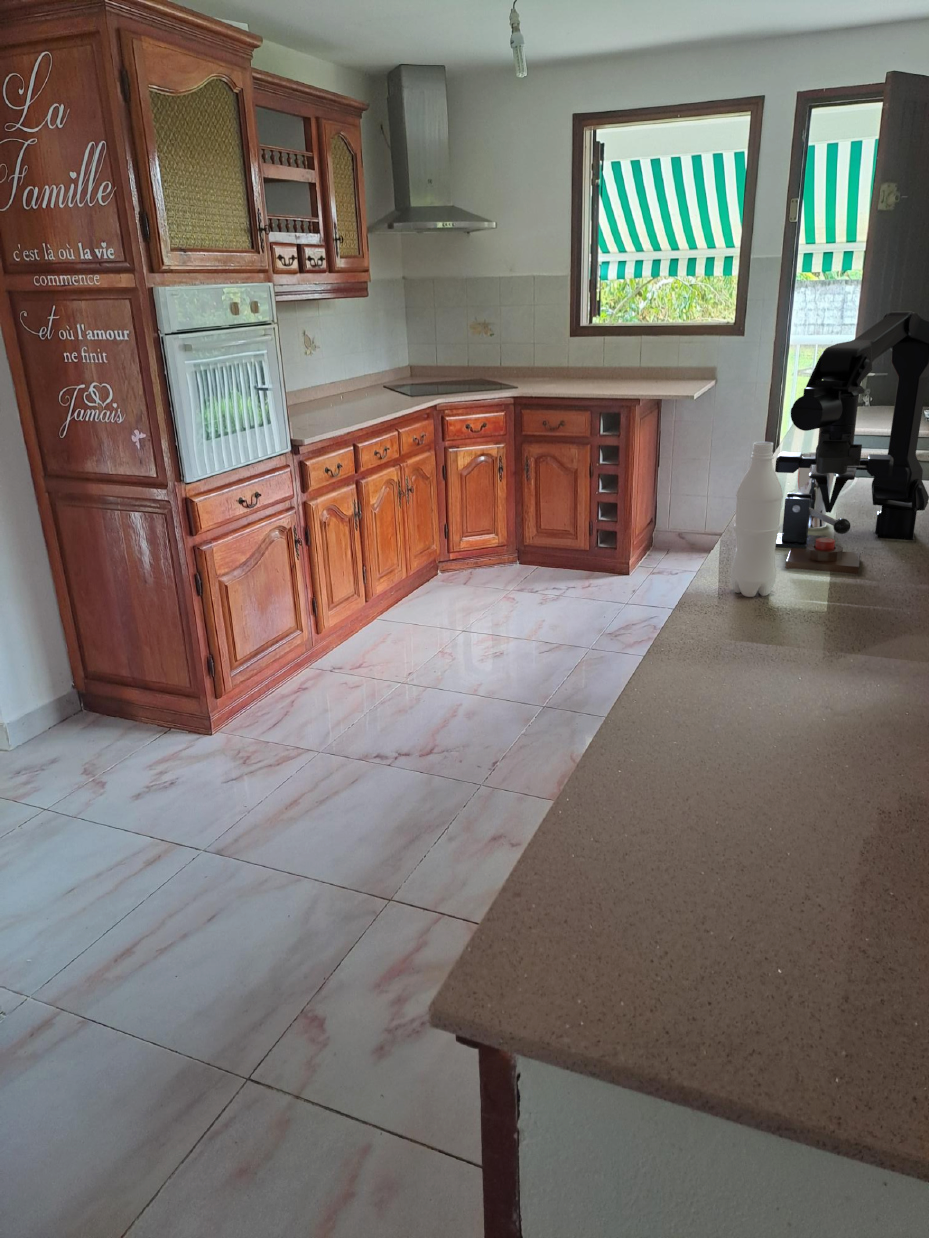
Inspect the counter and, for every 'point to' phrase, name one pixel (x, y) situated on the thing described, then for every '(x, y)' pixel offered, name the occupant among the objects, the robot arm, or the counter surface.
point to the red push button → (825, 544)
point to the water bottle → (757, 525)
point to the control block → (823, 559)
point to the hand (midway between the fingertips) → (828, 512)
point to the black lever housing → (796, 523)
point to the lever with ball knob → (831, 521)
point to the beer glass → (813, 492)
